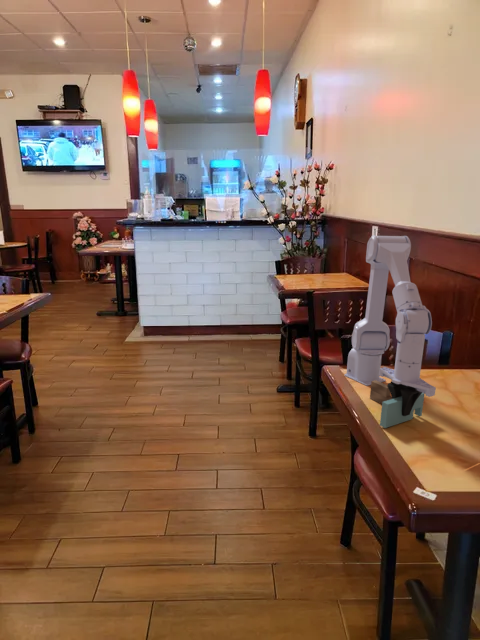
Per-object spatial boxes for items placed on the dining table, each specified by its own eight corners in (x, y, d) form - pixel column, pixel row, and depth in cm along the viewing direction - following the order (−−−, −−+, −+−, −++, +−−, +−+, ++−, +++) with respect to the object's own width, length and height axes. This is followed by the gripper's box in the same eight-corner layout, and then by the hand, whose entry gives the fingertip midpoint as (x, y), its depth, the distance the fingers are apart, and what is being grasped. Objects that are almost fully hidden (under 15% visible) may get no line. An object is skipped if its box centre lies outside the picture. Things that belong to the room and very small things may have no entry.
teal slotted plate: (379, 425, 108) (382, 401, 106) (416, 413, 114) (419, 391, 113) (385, 428, 106) (387, 404, 105) (421, 415, 113) (424, 393, 111)
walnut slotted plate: (369, 398, 123) (371, 381, 122) (373, 397, 124) (375, 380, 123) (402, 414, 114) (405, 396, 113) (407, 413, 115) (409, 394, 114)
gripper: (372, 353, 110) (367, 405, 114) (423, 372, 98) (416, 429, 102) (392, 349, 114) (387, 399, 117) (444, 367, 102) (436, 422, 105)
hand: (402, 413), depth 110 cm, fingers closed on teal slotted plate, 2 cm apart
